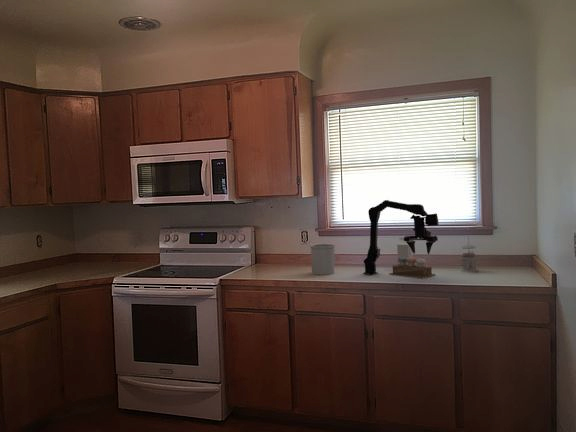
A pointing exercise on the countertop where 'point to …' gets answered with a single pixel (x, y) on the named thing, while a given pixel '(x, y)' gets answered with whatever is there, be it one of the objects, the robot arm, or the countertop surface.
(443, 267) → the countertop surface
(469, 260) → the french press
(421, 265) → the knob
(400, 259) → the knob
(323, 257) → the utensil holder
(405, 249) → the milk carton
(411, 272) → the mount
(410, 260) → the knob mid
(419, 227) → the robot arm
